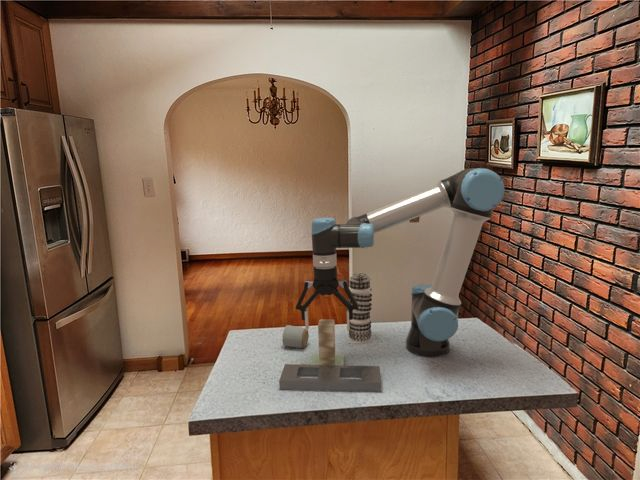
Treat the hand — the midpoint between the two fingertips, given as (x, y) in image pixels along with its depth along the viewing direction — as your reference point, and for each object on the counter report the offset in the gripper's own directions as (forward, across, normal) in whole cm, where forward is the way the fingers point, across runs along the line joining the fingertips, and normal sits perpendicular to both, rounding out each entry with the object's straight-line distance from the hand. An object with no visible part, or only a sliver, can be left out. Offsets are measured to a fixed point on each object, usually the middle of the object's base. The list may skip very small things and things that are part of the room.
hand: (327, 329), depth 137 cm
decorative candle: (+12, +10, +20) cm, 26 cm away
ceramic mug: (+12, -13, +14) cm, 23 cm away
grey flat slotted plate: (+12, +1, -12) cm, 17 cm away
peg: (+12, -1, 0) cm, 12 cm away
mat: (+12, -1, 0) cm, 12 cm away
